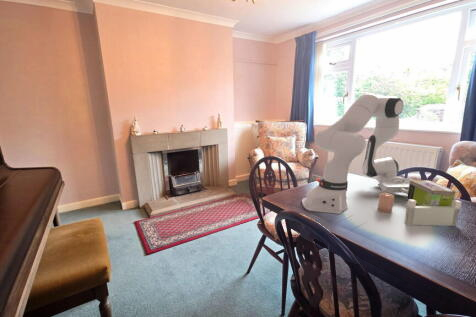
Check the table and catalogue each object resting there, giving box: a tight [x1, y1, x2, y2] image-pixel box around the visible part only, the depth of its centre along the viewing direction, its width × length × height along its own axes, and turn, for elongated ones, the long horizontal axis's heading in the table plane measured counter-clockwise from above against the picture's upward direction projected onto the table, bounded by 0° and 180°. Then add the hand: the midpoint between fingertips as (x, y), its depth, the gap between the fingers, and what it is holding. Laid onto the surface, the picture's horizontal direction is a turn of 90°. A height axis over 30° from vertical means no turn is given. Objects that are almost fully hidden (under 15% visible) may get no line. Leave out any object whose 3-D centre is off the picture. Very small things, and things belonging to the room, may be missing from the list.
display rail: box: [404, 199, 462, 227], centre depth 98 cm, size 20×2×11 cm, turn 86°
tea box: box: [405, 179, 457, 208], centre depth 107 cm, size 15×10×15 cm
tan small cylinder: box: [377, 192, 395, 214], centre depth 112 cm, size 6×6×8 cm
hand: (410, 193), depth 118 cm, fingers closed
